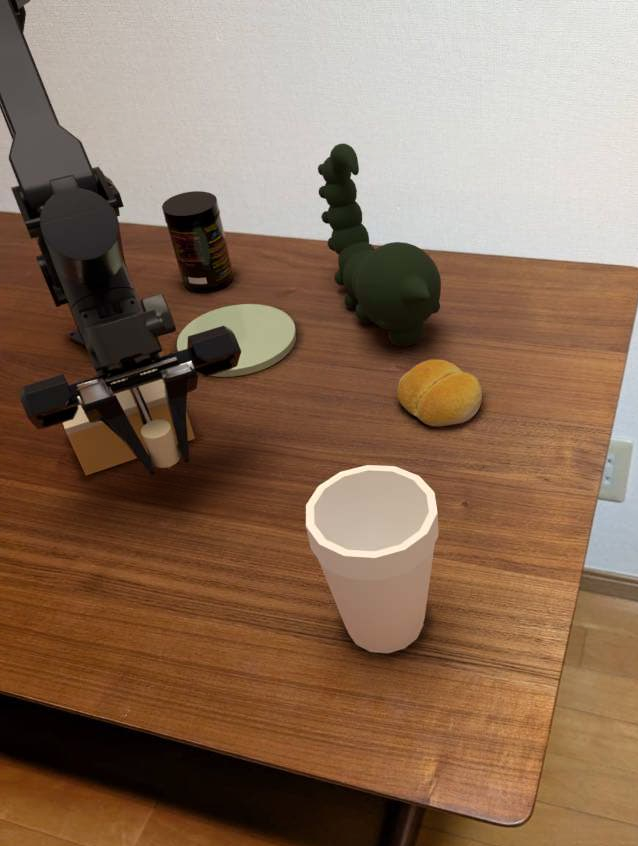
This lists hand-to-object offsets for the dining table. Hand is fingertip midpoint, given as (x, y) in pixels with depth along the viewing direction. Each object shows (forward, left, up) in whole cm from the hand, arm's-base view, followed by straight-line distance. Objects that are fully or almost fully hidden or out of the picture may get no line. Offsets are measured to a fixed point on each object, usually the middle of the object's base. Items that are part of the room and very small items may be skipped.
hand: (170, 467), depth 74 cm
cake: (-14, +2, -6) cm, 16 cm away
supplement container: (-32, +31, -6) cm, 45 cm away
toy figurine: (-7, +37, -6) cm, 38 cm away
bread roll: (+9, +27, -6) cm, 29 cm away
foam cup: (+23, +1, -6) cm, 24 cm away
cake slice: (-12, +8, -6) cm, 15 cm away
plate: (-18, +23, -6) cm, 30 cm away
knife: (-8, +4, -6) cm, 10 cm away
